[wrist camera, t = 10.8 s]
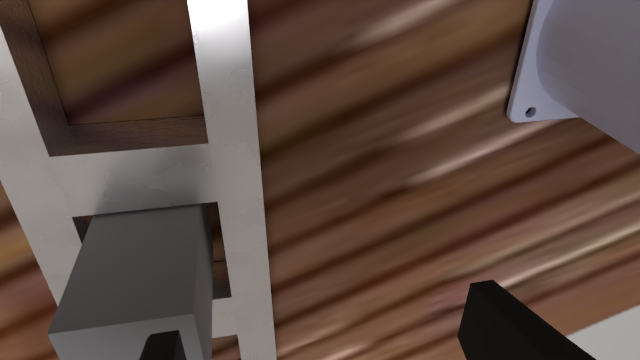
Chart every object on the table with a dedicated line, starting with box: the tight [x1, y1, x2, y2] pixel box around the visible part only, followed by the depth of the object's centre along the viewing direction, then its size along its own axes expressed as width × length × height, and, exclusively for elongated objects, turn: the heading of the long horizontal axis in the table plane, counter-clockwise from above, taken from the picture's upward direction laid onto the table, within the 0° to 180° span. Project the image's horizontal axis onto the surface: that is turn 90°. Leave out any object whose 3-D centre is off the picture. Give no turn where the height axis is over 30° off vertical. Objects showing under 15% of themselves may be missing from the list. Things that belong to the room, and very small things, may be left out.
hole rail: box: [0, 0, 277, 360], centre depth 20 cm, size 9×24×2 cm, turn 0°
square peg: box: [48, 203, 213, 360], centre depth 17 cm, size 4×4×8 cm
